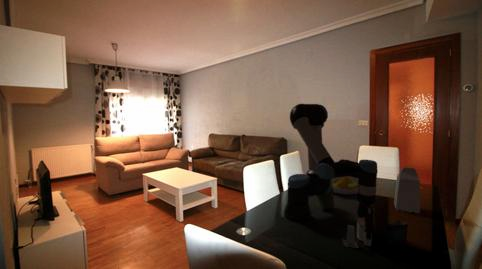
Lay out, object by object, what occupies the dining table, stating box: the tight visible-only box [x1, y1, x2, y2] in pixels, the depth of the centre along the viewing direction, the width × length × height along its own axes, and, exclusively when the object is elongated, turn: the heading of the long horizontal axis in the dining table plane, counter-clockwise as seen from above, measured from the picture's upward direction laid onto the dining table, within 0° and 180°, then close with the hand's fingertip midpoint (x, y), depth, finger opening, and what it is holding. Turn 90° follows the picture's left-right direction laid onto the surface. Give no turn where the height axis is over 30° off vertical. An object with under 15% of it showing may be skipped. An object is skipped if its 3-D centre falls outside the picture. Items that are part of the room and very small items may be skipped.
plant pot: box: [316, 188, 335, 210], centre depth 145 cm, size 12×12×11 cm
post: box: [341, 224, 360, 250], centre depth 105 cm, size 6×6×8 cm
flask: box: [386, 218, 409, 245], centre depth 107 cm, size 9×3×11 cm, turn 95°
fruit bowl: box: [331, 176, 358, 196], centre depth 176 cm, size 28×27×11 cm
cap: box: [356, 219, 366, 242], centre depth 110 cm, size 5×5×8 cm
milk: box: [393, 166, 421, 214], centre depth 145 cm, size 12×12×26 cm
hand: (363, 237), depth 110 cm, fingers open, 13 cm apart
